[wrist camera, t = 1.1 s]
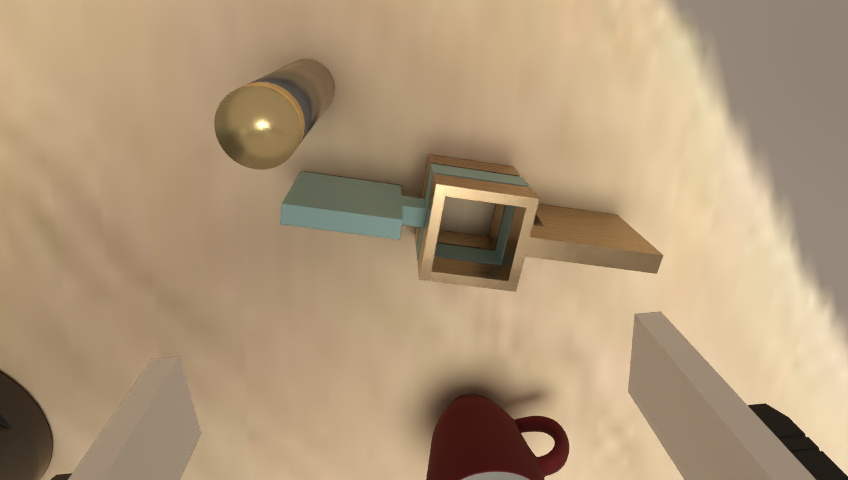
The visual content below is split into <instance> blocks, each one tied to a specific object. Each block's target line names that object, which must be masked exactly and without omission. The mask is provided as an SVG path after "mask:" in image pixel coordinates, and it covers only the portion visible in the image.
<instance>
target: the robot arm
mask: <svg viewBox="0 0 848 480" xmlns="http://www.w3.org/2000/svg"><path fill="white" fill-rule="evenodd" d="M628 392H629V394H630V395H631V397H632V398H633V400H634V402H635V403H636V405H637V406H638V408H639V409H640V411H641V412H642V414H643V416H644V417H645V419H646V420H647V422H648V423H649V425H650V427H651V428H652V430H653V431H654V433H655V434H656V436H657V438H658V439H659V441H660V442H661V444H662V445H663V447H664V448H665V450H666V452H667V453H668V455H669V456H670V458H671V459H672V461H673V463H674V464H675V466H676V467H677V469H678V470H679V472H680V474H681V475H682V477H683V478H684V480H848V476H847V475H846V474H845V473H844V472H843V471H842V470H841V469H840V468H839V467H838V466H837V465H836V464H835V463H834V462H833V461H832V460H831V459H830V458H829V457H828V456H827V455H826V454H825V453H824V452H823V451H819V447H818V446H817V445H816V444H815V443H814V442H813V441H812V440H811V439H810V438H809V437H806V436H805V433H804V432H803V431H802V430H801V429H800V428H799V427H798V426H797V425H796V424H795V423H794V422H793V421H792V420H791V419H790V418H789V417H787V416H786V415H784V414H782V413H781V412H779V411H777V410H775V409H774V408H772V407H770V406H769V405H767V404H755V405H747V404H746V403H745V402H744V401H743V400H742V399H741V398H740V397H739V396H738V395H737V393H736V392H735V391H734V390H733V389H732V388H731V387H730V386H729V385H728V384H727V383H726V382H725V380H724V379H723V378H722V377H721V376H720V375H719V374H718V373H717V372H716V371H715V370H714V369H713V368H712V366H711V365H710V364H709V363H708V362H707V361H706V360H705V359H704V358H703V357H702V356H701V355H700V353H699V352H698V351H697V350H696V349H695V348H694V347H693V346H692V345H691V344H690V343H689V342H688V340H687V339H686V338H685V337H684V336H683V335H682V334H681V333H680V332H679V331H678V330H677V329H676V327H675V326H674V325H673V324H672V323H671V322H670V321H669V320H668V319H667V318H666V317H665V316H664V315H663V313H662V312H661V311H660V312H650V313H639V314H635V317H634V328H633V340H632V352H631V363H630V375H629V387H628ZM200 435H201V431H200V427H199V424H198V420H197V417H196V413H195V410H194V406H193V403H192V399H191V396H190V392H189V389H188V385H187V382H186V378H185V375H184V372H183V368H182V365H181V361H180V358H179V357H169V358H159V359H152V360H151V361H150V363H149V364H148V366H147V367H146V368H145V370H144V371H143V373H142V374H141V376H140V377H139V378H138V380H137V381H136V383H135V384H134V386H133V387H132V389H131V390H130V391H129V393H128V394H127V396H126V397H125V399H124V400H123V401H122V403H121V404H120V406H119V407H118V409H117V410H116V412H115V413H114V414H113V416H112V417H111V419H110V420H109V422H108V423H107V424H106V426H105V427H104V429H103V430H102V432H101V433H100V434H99V436H98V437H97V439H96V440H95V442H94V443H93V445H92V446H91V447H90V449H89V450H88V452H87V453H86V455H85V456H84V457H83V459H82V460H81V462H80V463H79V465H78V466H77V468H76V469H75V470H74V472H73V473H71V474H61V475H56V476H55V477H53V478H52V479H51V480H180V479H181V477H182V474H183V472H184V470H185V468H186V466H187V463H188V461H189V459H190V457H191V455H192V452H193V450H194V448H195V446H196V444H197V441H198V439H199V437H200ZM51 455H52V439H51V433H50V430H49V427H48V424H47V422H46V419H45V417H44V416H43V414H42V412H41V410H40V409H39V407H38V406H37V405H36V403H35V402H34V401H33V400H32V398H31V397H30V396H29V395H28V394H27V393H26V392H25V391H24V390H23V389H22V388H21V387H19V386H18V385H17V384H16V383H15V382H13V381H12V380H11V379H9V378H8V377H7V376H5V375H4V374H2V373H0V480H40V479H41V478H42V476H43V475H44V473H45V472H46V470H47V468H48V466H49V463H50V460H51Z"/></svg>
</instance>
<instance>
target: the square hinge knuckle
mask: <svg viewBox="0 0 848 480" xmlns="http://www.w3.org/2000/svg"><path fill="white" fill-rule="evenodd" d="M431 164H437V165H444V166H451V167H457V168H464V169H471V170H478V171H484V172H491V173H498V174H505V175H512V176H518V177H520V174H519V173H518V172H517V171H516V169H515V168H514V167H511V166H504V165H497V164H491V163H484V162H477V161H471V160H464V159H457V158H450V157H444V156H437V155H430V154H428V160H427V166H426V172H425V178H424V183H423V189H422V195H421V198H423V199H425V195H426V189H427V183H428V177H429V172H430V166H431ZM445 196H447V197H455V198H462V199H469V200H476V201H483V202H490V203H496V207H495V212H494V216H493V221H492V225H491V230H490V234H489V237H486V236H478V235H471V234H463V233H456V232H449V231H441V230H439V227H440V221H441V216H442V211H443V205H444V200H445ZM538 202H539V198H538V197H537V195H536V194H535V193H534V192H533V190H532V189H531V188H530V187H523V186H516V185H510V184H503V183H496V182H489V181H482V180H475V179H468V178H461V177H455V176H448V175H441V174H434V173H433V179H432V185H431V190H430V196H429V202H428V208H427V213H426V219H425V225H424V230H423V236H422V242H421V248H420V253H419V259H418V272H419V280H427V281H435V282H443V283H451V284H459V285H467V286H475V287H483V288H492V289H500V290H508V291H516V289H517V285H518V282H519V278H520V274H521V270H522V266H523V262H524V258H525V256H526V257H534V258H542V259H549V260H557V261H565V262H572V263H580V264H587V265H595V266H603V267H610V268H618V269H625V270H633V271H641V272H648V273H656V274H657V272H658V269H659V266H660V263H661V260H662V257H663V255H662V254H661V253H660V252H659V251H658V250H657V249H656V248H654V247H653V246H652V245H651V244H650V243H649V242H648V241H647V240H645V239H644V238H643V237H642V236H641V235H640V234H639V233H637V232H636V231H635V230H634V229H633V228H632V227H631V226H629V225H628V224H627V223H626V222H625V221H624V220H623V219H621V218H620V217H619V216H618V215H613V214H606V213H599V212H592V211H585V210H578V209H571V208H564V207H557V206H550V205H543V204H538ZM505 205H511V206H515V210H514V215H513V219H512V223H511V227H510V232H509V236H508V240H507V244H506V248H505V253H504V257H503V261H502V265H494V264H486V263H478V262H470V261H463V260H455V259H447V258H439V257H434V254H435V248H436V243H439V244H446V245H454V246H461V247H469V248H477V249H484V250H492V251H495V249H496V245H497V240H498V236H499V232H500V227H501V223H502V219H503V214H504V210H505ZM419 230H420V227H416V231H415V242H416V247H417V242H418V236H419Z"/></svg>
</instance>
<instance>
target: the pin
mask: <svg viewBox="0 0 848 480" xmlns="http://www.w3.org/2000/svg"><path fill="white" fill-rule="evenodd" d="M334 88H335V87H334V81H333V78H332V76H331V74H330V72H329V71H328V70H327V68H326V67H325V66H323V65H322V64H320V63H319V62H316V61H313V60H300V61H297V62H295V63H293V64H291V65H289V66H286V67H284V68H282V69H280V70H278V71H276V72H273V73H271V74H269V75H267V76H265V77H263V78H260V79H258V80H256V81H254V82H252V83H250V84H247V85H245V86H243V87H241V88H239V89H237V90H235V91H233V92H231V93H230V94H228V95H227V96H226V97H225V98H224V99H223V100H222V102H221V103H220V105H219V107H218V109H217V111H216V115H215V132H216V136H217V139H218V141H219V143H220V145H221V147H222V148H223V150H224V151H225V152H226V154H227V155H228V156H229V157H231V158H232V159H233V160H234V161H236V162H237V163H239V164H241V165H243V166H246V167H249V168H253V169H269V168H273V167H276V166H278V165H281V164H282V163H284V162H285V161H286V160H287V159H288V158H289V157H290V156H291V155H292V154H293V152H294V151H295V150H296V148H297V147H298V146H299V144H300V143H301V141H302V140H303V139H304V137H305V136H306V135H307V133H308V132H309V131H310V129H311V128H312V126H313V125H314V124H315V122H316V121H317V120H318V118H319V117H320V116H321V114H322V113H323V111H324V110H325V109H326V107H327V106H328V105H329V103H330V102H331V100H332V98H333V95H334Z"/></svg>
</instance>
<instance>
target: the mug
mask: <svg viewBox="0 0 848 480" xmlns="http://www.w3.org/2000/svg"><path fill="white" fill-rule="evenodd" d="M532 431H537V432H544V433H547V434H549V435H550V436H551V437H553V439H554V441H555V445H554V447H553V449H552V450H551V451H550V452H549V453H548V454H546V455H544V456H541V457H536V456H535V455H534V453H533V452H532V451H531V449H530V448H529V446H528V445H527V443H526V441H525V440H524V438H523V436H522V435H521V433H522V432H532ZM568 454H569V441H568V438H567V435H566V433H565V431H564V430H563V428H562V427H561V426H560V425H559V424H558V423H557V422H556V421H554V420H553V419H550V418H547V417H543V416H529V417H524V418H519V419H515V420H514V419H513V418H512V417H511V416H510V415H509V414H508V413H506V412H505V411H504V410H503V409H502V408H500V407H499V406H498V405H496V404H495V403H493V402H492V401H490V400H488V399H487V398H485V397H483V396H480V395H475V394H469V395H464V396H461V397H459V398H457V399H455V400H454V401H453V402H452V403H450V405H449V406H448V407H447V409H446V410H445V411H444V413H443V414H442V416H441V417H440V419H439V421H438V422H437V424H436V427H435V430H434V433H433V437H432V443H431V450H430V457H429V464H428V471H427V479H426V480H544V477H545V476H547V475H551V474H553V473H555V472H557V471H559V470H560V469H561V468H562V467H563V466H564V464H565V462H566V460H567V457H568Z"/></svg>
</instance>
